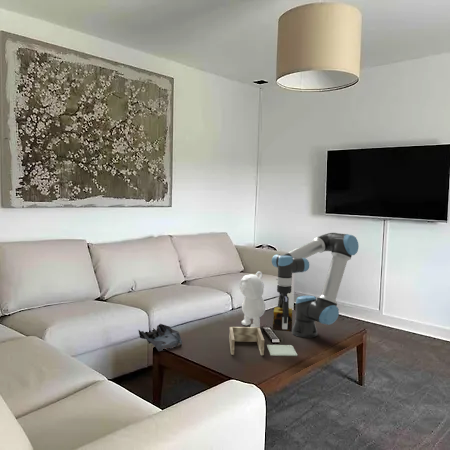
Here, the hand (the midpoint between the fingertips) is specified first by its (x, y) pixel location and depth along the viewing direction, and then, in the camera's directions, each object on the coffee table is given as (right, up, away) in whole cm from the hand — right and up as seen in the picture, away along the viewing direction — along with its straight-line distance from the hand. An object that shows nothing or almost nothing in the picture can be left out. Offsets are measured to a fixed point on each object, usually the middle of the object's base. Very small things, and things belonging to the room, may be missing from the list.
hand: (282, 325), depth 226 cm
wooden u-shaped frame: (-19, -13, +4) cm, 24 cm away
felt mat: (0, -14, +1) cm, 14 cm away
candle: (0, -2, 0) cm, 2 cm away
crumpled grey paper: (-66, -12, +5) cm, 67 cm away
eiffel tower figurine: (+7, -9, +72) cm, 73 cm away
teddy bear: (-13, -11, +41) cm, 44 cm away
